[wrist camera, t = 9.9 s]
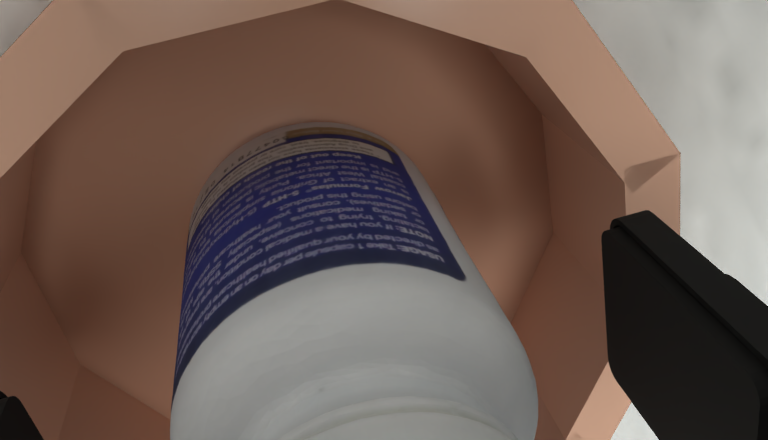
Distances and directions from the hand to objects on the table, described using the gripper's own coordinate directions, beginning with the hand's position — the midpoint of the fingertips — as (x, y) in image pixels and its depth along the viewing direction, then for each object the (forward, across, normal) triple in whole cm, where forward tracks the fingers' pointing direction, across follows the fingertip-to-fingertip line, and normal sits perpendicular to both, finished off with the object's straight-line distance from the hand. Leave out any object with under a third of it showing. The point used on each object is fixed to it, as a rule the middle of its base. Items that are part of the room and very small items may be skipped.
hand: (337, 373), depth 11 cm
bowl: (+5, 0, 0) cm, 5 cm away
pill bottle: (+5, 0, 0) cm, 5 cm away
